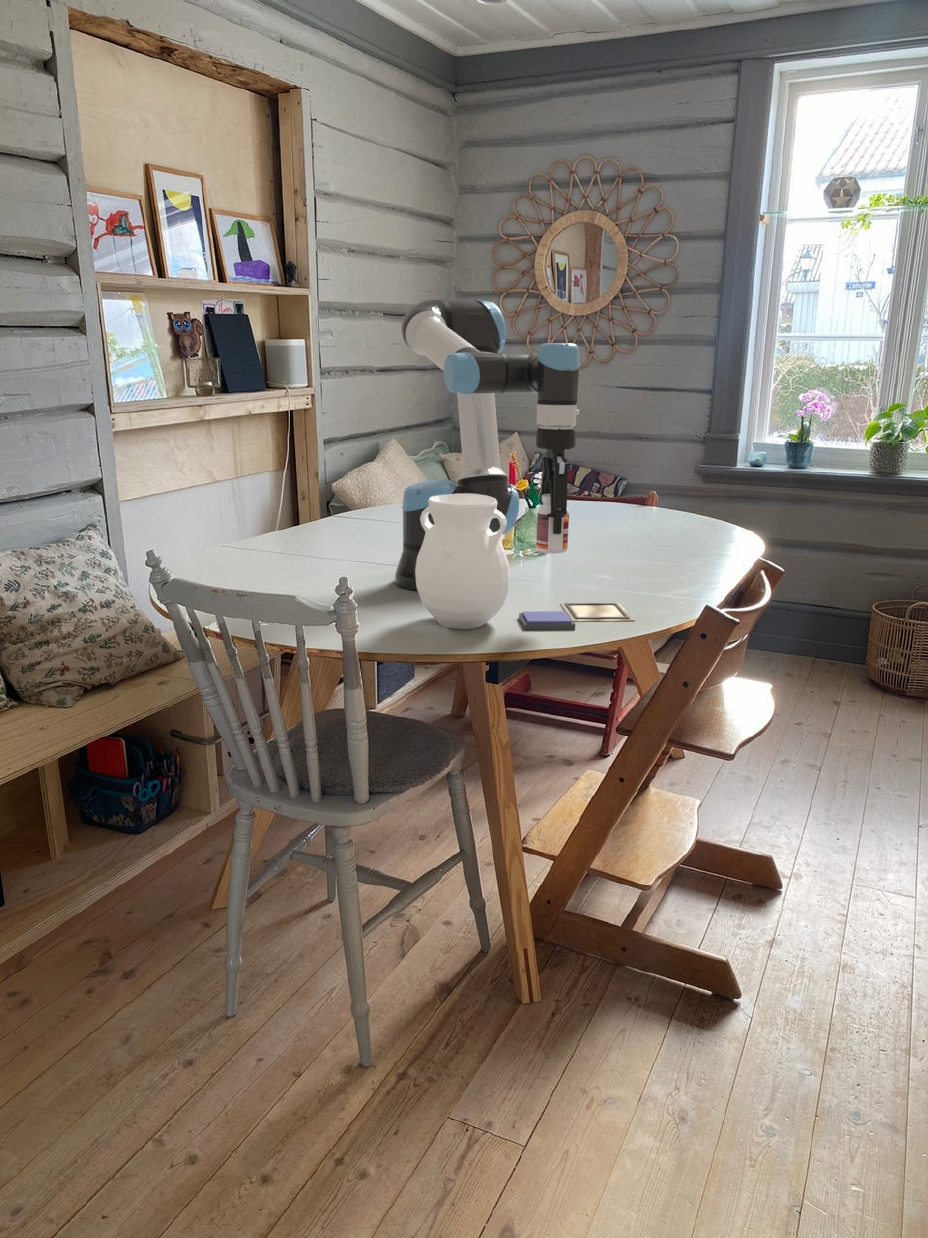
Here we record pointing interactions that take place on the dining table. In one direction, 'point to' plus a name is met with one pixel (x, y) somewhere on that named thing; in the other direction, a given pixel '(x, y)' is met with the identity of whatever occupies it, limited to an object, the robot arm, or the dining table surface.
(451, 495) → the white ceramic vase
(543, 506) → the pill bottle
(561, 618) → the ink pad
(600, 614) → the cream flat square
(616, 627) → the dining table surface
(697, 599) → the dining table surface
